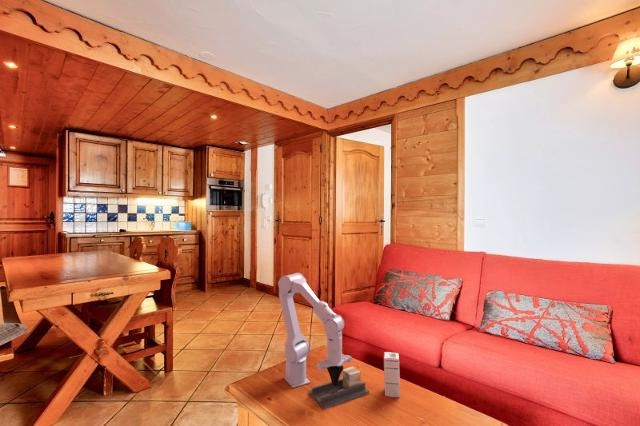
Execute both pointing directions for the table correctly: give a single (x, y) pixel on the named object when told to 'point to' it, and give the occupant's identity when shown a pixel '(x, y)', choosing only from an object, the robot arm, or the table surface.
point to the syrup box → (391, 374)
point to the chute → (336, 393)
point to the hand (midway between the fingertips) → (334, 384)
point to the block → (351, 377)
